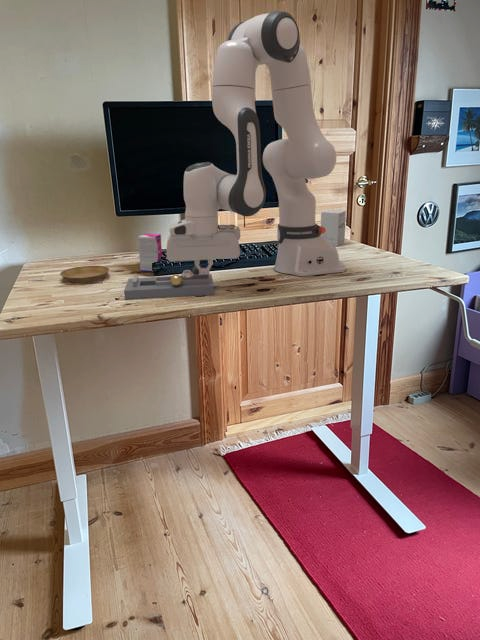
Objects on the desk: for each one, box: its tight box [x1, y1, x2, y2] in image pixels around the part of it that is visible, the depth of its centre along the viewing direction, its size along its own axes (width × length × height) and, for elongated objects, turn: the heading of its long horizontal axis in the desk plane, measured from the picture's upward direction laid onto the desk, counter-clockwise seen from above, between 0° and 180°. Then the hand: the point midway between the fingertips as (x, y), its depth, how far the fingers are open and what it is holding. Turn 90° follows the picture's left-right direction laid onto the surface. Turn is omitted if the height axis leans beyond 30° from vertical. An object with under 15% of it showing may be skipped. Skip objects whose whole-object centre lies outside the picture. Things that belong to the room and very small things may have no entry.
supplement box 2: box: [320, 209, 347, 248], centre depth 190 cm, size 7×7×13 cm
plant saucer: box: [59, 265, 110, 285], centre depth 155 cm, size 15×15×3 cm
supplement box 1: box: [137, 233, 163, 273], centre depth 161 cm, size 6×6×12 cm
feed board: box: [123, 273, 215, 301], centre depth 140 cm, size 24×12×4 cm, turn 96°
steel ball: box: [181, 269, 193, 280], centre depth 140 cm, size 3×3×3 cm
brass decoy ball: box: [170, 274, 182, 286], centre depth 136 cm, size 3×3×3 cm
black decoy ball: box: [191, 265, 203, 275], centre depth 144 cm, size 3×3×3 cm
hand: (204, 275), depth 140 cm, fingers closed
